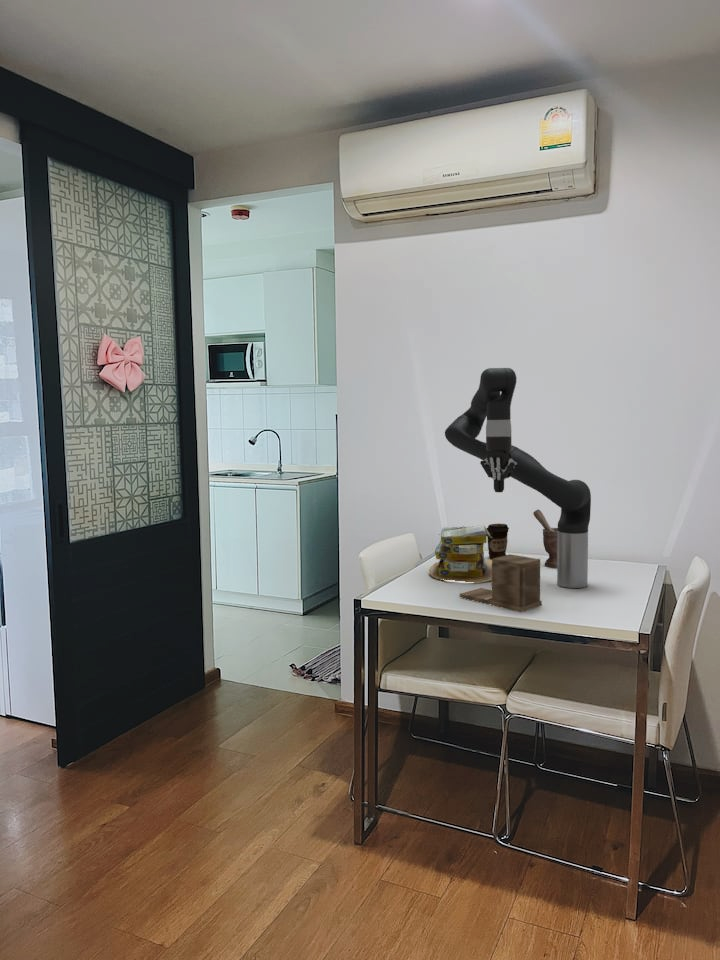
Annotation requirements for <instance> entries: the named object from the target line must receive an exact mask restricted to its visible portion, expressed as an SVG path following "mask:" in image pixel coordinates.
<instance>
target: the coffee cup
mask: <svg viewBox="0 0 720 960" xmlns="http://www.w3.org/2000/svg"><path fill="white" fill-rule="evenodd" d="M486 529H487V530H488V532H489V534H490V536H491V537H492V538H488V537H487V536H486V539H487V550H488V559H490V560H492V559H493V558H497V557H501V556H505V555H507V552H506V551H507V547H508V533H509V530H510V528H509V527H508V524H505V523H492V524H488V526H487V527H486Z"/></svg>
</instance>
